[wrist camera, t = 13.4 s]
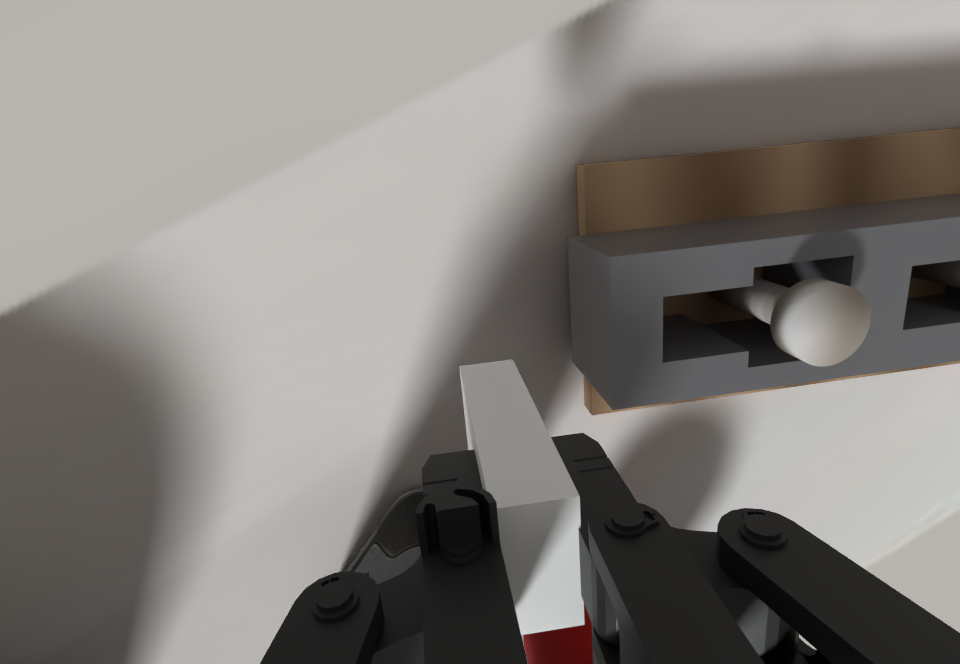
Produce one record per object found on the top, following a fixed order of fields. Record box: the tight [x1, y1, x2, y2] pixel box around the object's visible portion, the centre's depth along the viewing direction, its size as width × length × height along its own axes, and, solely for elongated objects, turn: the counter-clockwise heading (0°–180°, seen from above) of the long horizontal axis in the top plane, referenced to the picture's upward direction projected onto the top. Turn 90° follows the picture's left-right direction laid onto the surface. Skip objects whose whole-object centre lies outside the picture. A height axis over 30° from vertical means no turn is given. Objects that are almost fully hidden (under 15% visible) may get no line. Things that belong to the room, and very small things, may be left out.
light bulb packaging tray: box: [567, 193, 960, 410], centre depth 24 cm, size 22×6×6 cm, turn 95°
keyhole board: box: [576, 128, 960, 415], centre depth 24 cm, size 24×12×8 cm, turn 95°
